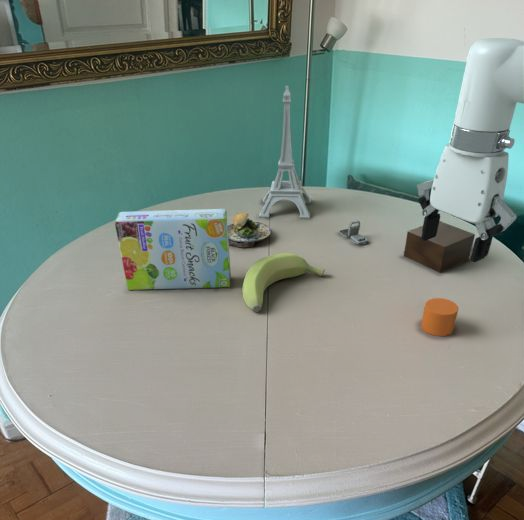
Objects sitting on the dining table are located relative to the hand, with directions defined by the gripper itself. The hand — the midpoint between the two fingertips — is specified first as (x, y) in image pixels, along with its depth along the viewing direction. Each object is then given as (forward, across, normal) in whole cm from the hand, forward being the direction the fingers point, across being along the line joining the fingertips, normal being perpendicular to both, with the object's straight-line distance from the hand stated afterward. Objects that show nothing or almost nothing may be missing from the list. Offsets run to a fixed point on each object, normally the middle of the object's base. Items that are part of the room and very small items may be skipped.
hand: (452, 248), depth 84 cm
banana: (+16, +27, +13) cm, 34 cm away
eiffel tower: (+16, +62, -14) cm, 65 cm away
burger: (+16, +52, +5) cm, 55 cm away
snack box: (+16, +42, +29) cm, 54 cm away
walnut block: (+15, +18, -22) cm, 32 cm away
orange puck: (+15, 0, 0) cm, 15 cm away
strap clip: (+16, +36, -15) cm, 43 cm away
